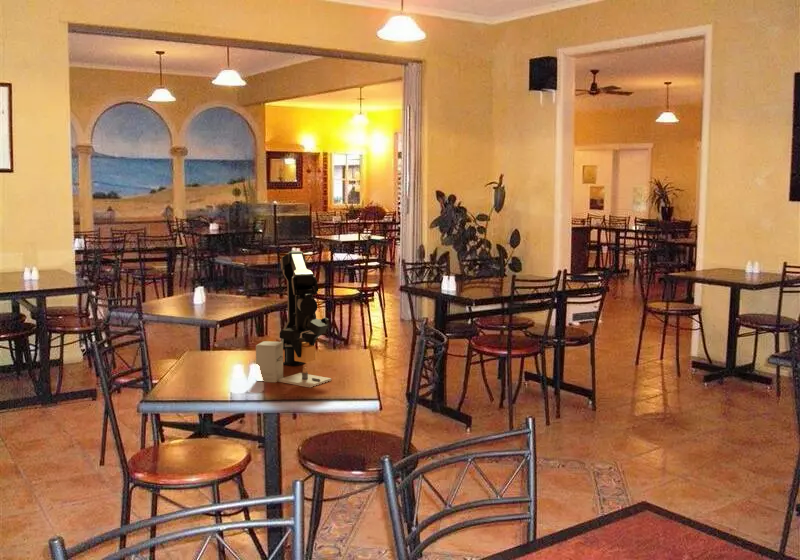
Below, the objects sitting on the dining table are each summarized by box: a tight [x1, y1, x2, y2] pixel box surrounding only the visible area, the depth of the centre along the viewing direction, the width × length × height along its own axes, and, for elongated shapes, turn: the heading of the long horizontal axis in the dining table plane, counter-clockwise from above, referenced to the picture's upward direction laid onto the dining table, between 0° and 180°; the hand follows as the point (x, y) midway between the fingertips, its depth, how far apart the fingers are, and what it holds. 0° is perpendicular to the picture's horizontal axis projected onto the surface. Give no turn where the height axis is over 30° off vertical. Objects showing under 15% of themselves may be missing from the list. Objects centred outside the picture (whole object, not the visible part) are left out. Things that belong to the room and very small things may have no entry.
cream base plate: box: [277, 366, 332, 388], centre depth 279 cm, size 14×11×5 cm
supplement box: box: [255, 340, 284, 383], centre depth 280 cm, size 7×7×13 cm
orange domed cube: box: [294, 342, 316, 364], centre depth 278 cm, size 5×5×6 cm
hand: (304, 355), depth 278 cm, fingers closed on orange domed cube, 5 cm apart
